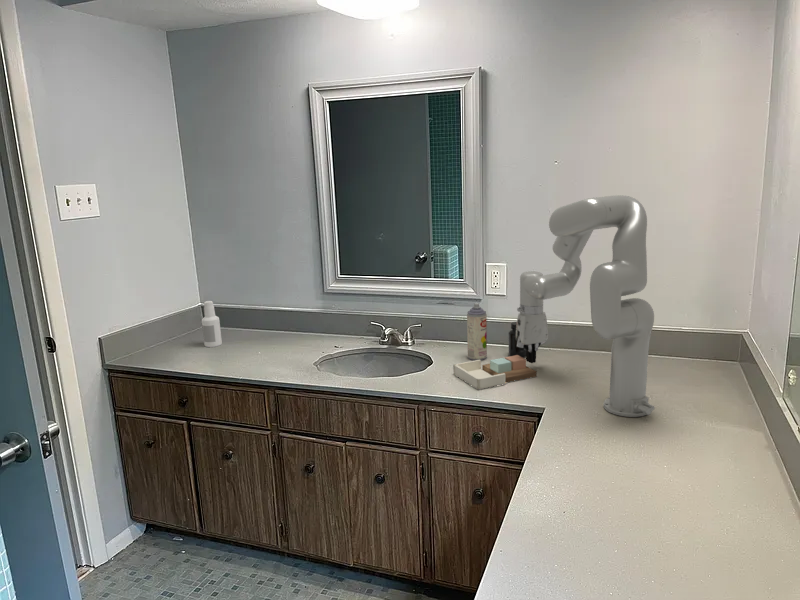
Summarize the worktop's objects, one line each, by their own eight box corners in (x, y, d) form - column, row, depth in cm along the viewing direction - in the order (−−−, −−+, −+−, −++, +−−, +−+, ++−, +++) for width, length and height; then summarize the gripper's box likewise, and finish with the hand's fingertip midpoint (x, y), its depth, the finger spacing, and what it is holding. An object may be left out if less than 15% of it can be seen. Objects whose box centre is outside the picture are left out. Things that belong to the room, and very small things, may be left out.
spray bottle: (204, 343, 251) (199, 300, 247) (221, 341, 253) (217, 299, 249) (204, 348, 245) (199, 304, 241) (222, 346, 247) (217, 302, 243)
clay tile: (525, 367, 203) (526, 359, 202) (513, 370, 201) (513, 361, 200) (517, 363, 208) (517, 355, 207) (504, 365, 206) (504, 357, 205)
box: (505, 384, 194) (505, 374, 193) (478, 390, 190) (477, 379, 190) (479, 369, 209) (479, 359, 208) (453, 374, 205) (453, 364, 204)
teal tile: (511, 370, 201) (511, 362, 200) (498, 373, 199) (498, 364, 198) (503, 366, 205) (503, 357, 205) (490, 368, 204) (490, 360, 203)
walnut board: (536, 376, 200) (536, 371, 199) (505, 383, 195) (505, 377, 195) (512, 364, 212) (512, 359, 212) (482, 370, 208) (482, 364, 207)
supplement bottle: (526, 352, 224) (526, 320, 221) (528, 358, 218) (529, 325, 215) (507, 352, 225) (507, 320, 222) (509, 358, 218) (509, 326, 216)
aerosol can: (483, 361, 216) (483, 306, 212) (465, 359, 219) (464, 305, 214) (489, 355, 222) (488, 302, 218) (470, 353, 225) (470, 300, 220)
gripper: (518, 314, 196) (518, 368, 200) (557, 308, 202) (556, 361, 206) (505, 309, 203) (505, 362, 207) (543, 303, 208) (542, 355, 213)
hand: (530, 361), depth 207 cm, fingers closed
